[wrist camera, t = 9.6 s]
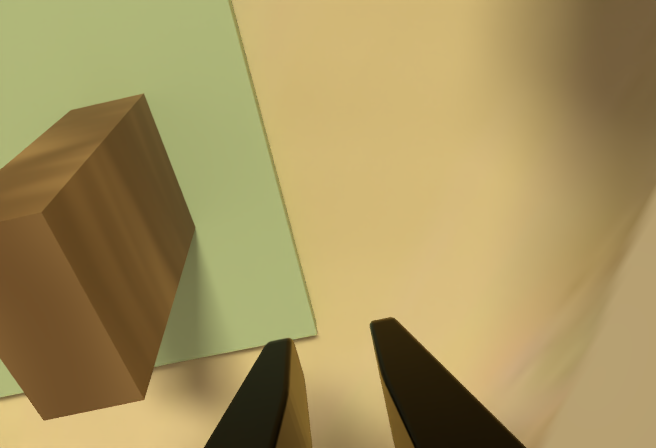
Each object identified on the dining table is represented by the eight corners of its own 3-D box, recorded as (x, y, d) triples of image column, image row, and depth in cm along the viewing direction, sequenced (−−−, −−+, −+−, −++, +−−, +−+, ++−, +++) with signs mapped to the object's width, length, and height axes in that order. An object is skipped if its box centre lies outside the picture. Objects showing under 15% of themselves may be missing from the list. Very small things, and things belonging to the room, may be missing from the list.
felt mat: (190, -155, 14) (185, -159, 13) (316, 322, 23) (317, 334, 22) (-333, -36, 15) (-363, -34, 14) (-19, 388, 23) (-29, 402, 22)
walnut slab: (143, 93, 17) (41, 212, 10) (195, 227, 19) (144, 400, 12) (70, 110, 17) (-84, 240, 10) (131, 241, 19) (43, 420, 12)
